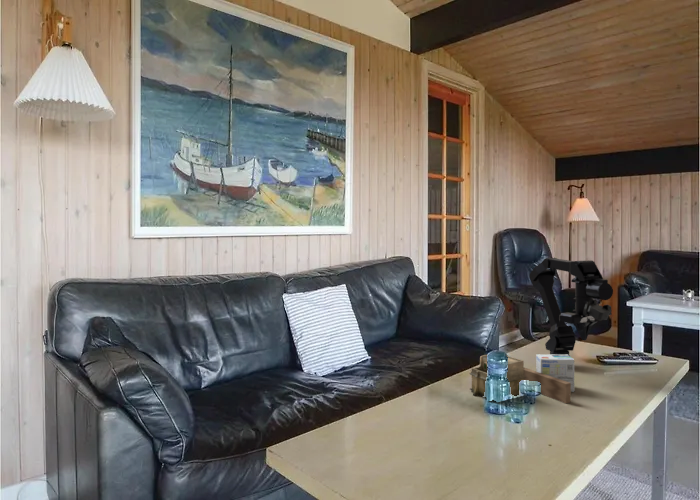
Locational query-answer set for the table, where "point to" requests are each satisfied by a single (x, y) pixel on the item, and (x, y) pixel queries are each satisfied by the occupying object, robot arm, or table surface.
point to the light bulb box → (556, 367)
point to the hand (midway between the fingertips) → (584, 340)
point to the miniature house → (513, 375)
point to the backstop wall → (550, 385)
